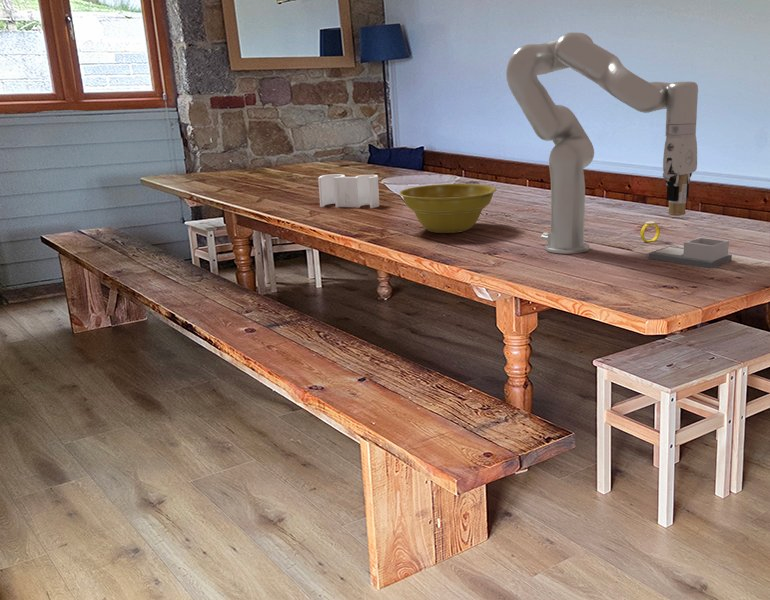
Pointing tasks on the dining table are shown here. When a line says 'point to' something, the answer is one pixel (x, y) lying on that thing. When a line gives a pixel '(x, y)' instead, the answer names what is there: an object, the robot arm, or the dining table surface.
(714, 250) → the grey tray with box
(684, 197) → the sprinkles bottle
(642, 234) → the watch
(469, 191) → the planter bowl
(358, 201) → the bracket
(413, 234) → the dining table surface
